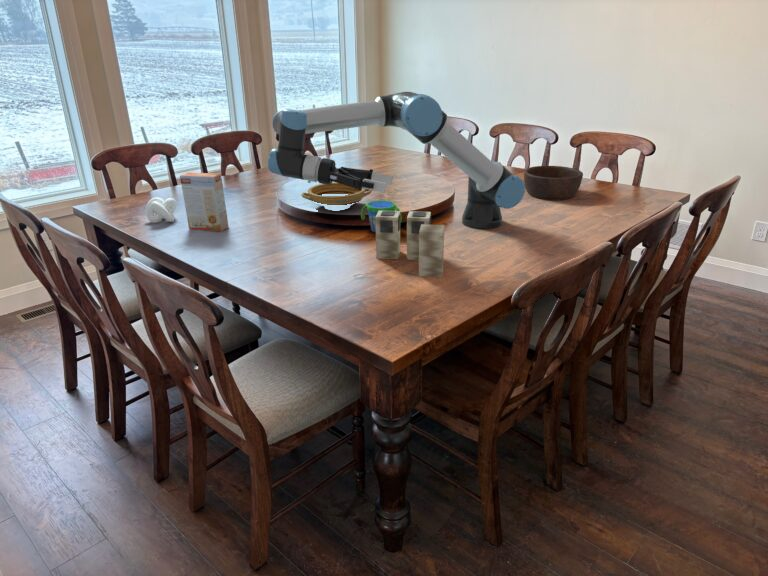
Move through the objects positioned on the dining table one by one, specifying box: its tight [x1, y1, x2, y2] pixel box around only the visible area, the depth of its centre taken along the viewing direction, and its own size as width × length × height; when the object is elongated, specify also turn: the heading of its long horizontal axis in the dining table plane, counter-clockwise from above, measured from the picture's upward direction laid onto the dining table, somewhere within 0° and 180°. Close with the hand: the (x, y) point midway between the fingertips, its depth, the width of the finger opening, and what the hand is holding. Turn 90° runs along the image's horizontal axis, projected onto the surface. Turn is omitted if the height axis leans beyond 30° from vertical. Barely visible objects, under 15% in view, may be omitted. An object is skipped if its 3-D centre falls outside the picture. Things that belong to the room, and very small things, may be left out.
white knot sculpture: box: [145, 197, 178, 224], centre depth 219 cm, size 11×12×9 cm
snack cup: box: [360, 199, 403, 233], centre depth 203 cm, size 16×10×10 cm
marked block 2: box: [375, 210, 401, 260], centre depth 180 cm, size 7×7×14 cm
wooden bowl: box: [523, 165, 584, 201], centre depth 245 cm, size 25×25×10 cm
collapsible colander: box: [300, 182, 373, 205], centre depth 232 cm, size 30×24×8 cm
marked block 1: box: [406, 210, 432, 261], centre depth 178 cm, size 7×7×14 cm
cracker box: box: [179, 172, 229, 232], centre depth 207 cm, size 14×6×21 cm, turn 74°
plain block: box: [418, 224, 445, 278], centre depth 166 cm, size 7×7×14 cm
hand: (389, 184), depth 164 cm, fingers open, 13 cm apart
